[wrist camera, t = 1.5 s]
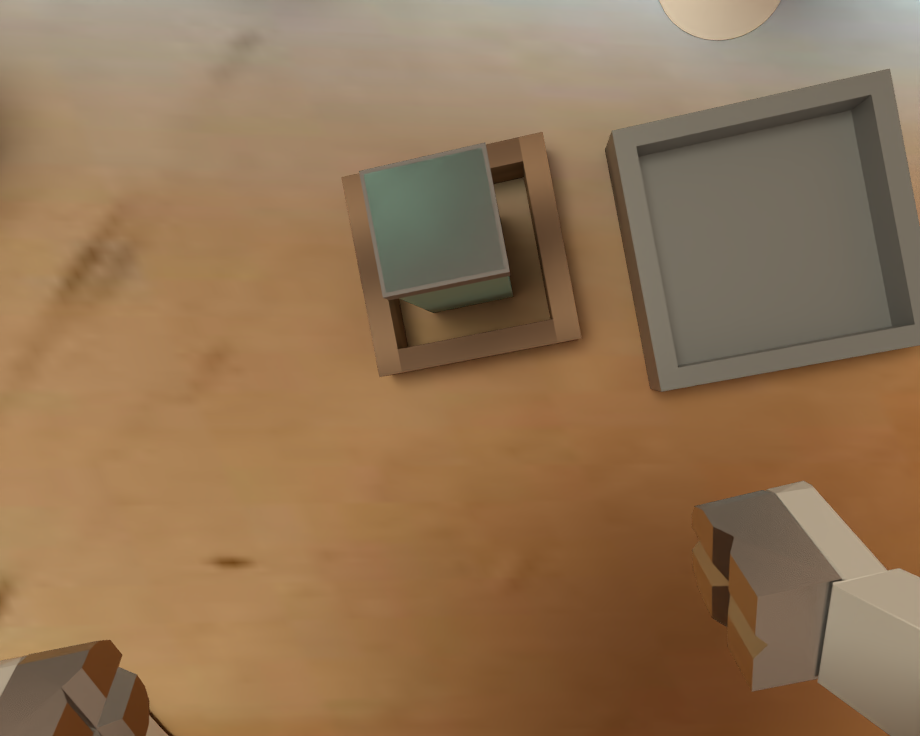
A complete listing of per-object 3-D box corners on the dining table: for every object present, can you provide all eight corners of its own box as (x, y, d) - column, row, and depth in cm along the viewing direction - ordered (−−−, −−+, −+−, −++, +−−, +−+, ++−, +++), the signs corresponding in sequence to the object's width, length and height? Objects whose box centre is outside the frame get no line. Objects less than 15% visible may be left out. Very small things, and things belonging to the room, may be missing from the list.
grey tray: (905, 342, 34) (941, 341, 31) (650, 388, 35) (661, 391, 32) (858, 93, 34) (889, 68, 31) (605, 149, 35) (611, 130, 32)
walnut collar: (577, 339, 36) (581, 338, 33) (391, 374, 37) (379, 376, 34) (541, 150, 36) (542, 131, 33) (356, 191, 37) (341, 177, 34)
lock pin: (516, 298, 36) (509, 271, 24) (431, 315, 37) (383, 297, 25) (500, 212, 36) (485, 142, 24) (414, 230, 37) (358, 171, 25)
